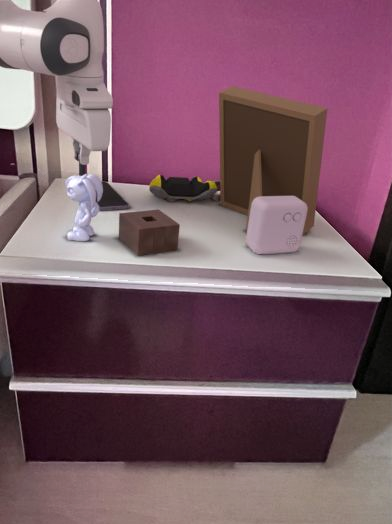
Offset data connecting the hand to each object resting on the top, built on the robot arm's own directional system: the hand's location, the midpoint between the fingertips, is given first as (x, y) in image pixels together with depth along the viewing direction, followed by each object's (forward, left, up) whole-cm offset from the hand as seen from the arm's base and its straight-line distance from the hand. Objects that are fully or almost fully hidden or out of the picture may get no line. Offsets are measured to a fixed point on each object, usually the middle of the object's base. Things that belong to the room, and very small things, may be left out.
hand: (81, 161), depth 117 cm
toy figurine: (-7, -19, -8) cm, 22 cm away
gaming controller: (+22, -5, -8) cm, 24 cm away
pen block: (+3, -26, -8) cm, 27 cm away
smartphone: (+5, 0, -8) cm, 9 cm away
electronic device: (+25, -36, -8) cm, 45 cm away
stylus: (0, 0, -7) cm, 7 cm away
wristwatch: (+33, -8, -7) cm, 35 cm away
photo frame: (+30, -22, -8) cm, 38 cm away
